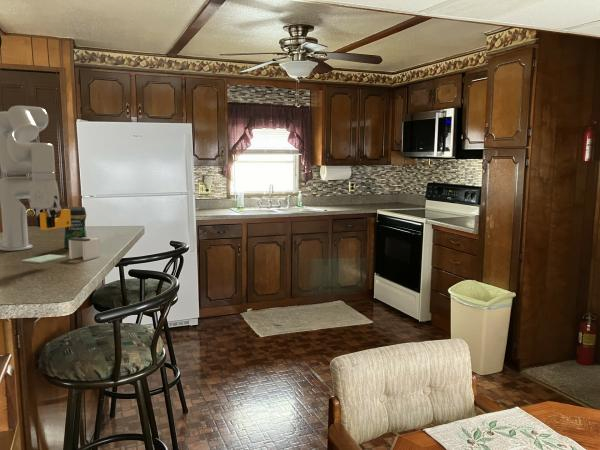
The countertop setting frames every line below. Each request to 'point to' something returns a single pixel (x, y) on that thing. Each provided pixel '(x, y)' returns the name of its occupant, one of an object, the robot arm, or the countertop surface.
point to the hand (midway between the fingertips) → (46, 226)
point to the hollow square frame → (84, 248)
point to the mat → (44, 258)
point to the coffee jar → (75, 225)
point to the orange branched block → (56, 220)
